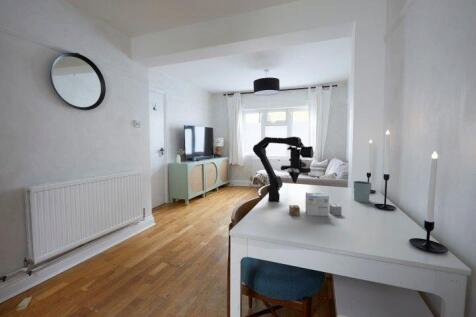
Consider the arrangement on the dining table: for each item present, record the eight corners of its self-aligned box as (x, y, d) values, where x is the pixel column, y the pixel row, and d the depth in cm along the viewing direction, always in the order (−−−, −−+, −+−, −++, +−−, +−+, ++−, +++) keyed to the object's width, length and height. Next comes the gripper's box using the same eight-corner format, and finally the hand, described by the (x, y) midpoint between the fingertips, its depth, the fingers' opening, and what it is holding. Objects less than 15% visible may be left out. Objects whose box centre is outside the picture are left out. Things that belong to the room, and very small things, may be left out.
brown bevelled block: (290, 216, 111) (290, 206, 110) (289, 213, 115) (289, 204, 115) (299, 216, 110) (299, 207, 110) (297, 213, 115) (297, 204, 114)
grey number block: (332, 215, 112) (332, 205, 112) (329, 212, 117) (329, 203, 116) (341, 215, 112) (341, 206, 112) (337, 212, 117) (338, 203, 116)
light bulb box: (325, 212, 117) (325, 192, 116) (329, 216, 110) (329, 195, 109) (304, 211, 118) (305, 192, 117) (307, 215, 111) (307, 195, 110)
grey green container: (349, 199, 142) (350, 181, 141) (359, 197, 146) (360, 180, 145) (363, 203, 133) (364, 184, 132) (374, 201, 137) (375, 182, 136)
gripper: (316, 157, 127) (316, 183, 129) (291, 156, 143) (291, 179, 144) (304, 158, 121) (304, 186, 122) (280, 156, 136) (279, 181, 137)
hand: (294, 183), depth 131 cm, fingers closed
